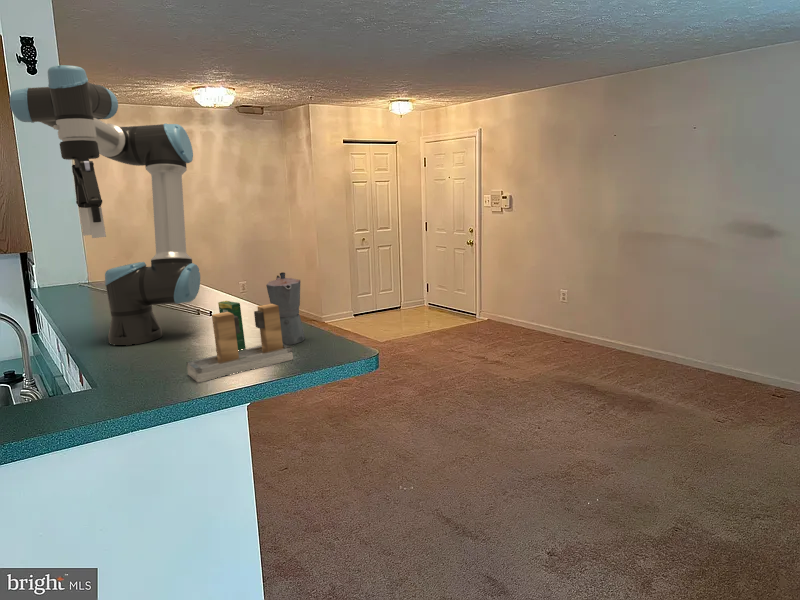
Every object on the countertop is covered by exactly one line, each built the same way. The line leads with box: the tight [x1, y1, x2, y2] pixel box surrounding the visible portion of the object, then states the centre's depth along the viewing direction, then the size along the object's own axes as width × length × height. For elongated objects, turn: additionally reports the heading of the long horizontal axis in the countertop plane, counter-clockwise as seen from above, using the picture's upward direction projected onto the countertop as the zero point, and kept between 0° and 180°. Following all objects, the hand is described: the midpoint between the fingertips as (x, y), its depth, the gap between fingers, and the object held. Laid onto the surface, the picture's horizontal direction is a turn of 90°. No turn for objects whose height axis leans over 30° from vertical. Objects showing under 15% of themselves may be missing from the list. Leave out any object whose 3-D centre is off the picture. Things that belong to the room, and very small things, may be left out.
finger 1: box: [211, 312, 240, 363], centre depth 142 cm, size 4×5×12 cm
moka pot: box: [266, 272, 306, 346], centre depth 164 cm, size 10×15×20 cm, turn 27°
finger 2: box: [253, 303, 283, 352], centre depth 147 cm, size 4×5×12 cm
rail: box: [185, 344, 294, 383], centre depth 144 cm, size 8×24×3 cm, turn 125°
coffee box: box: [217, 300, 247, 350], centre depth 161 cm, size 8×3×13 cm, turn 43°
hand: (94, 236), depth 133 cm, fingers open, 13 cm apart
